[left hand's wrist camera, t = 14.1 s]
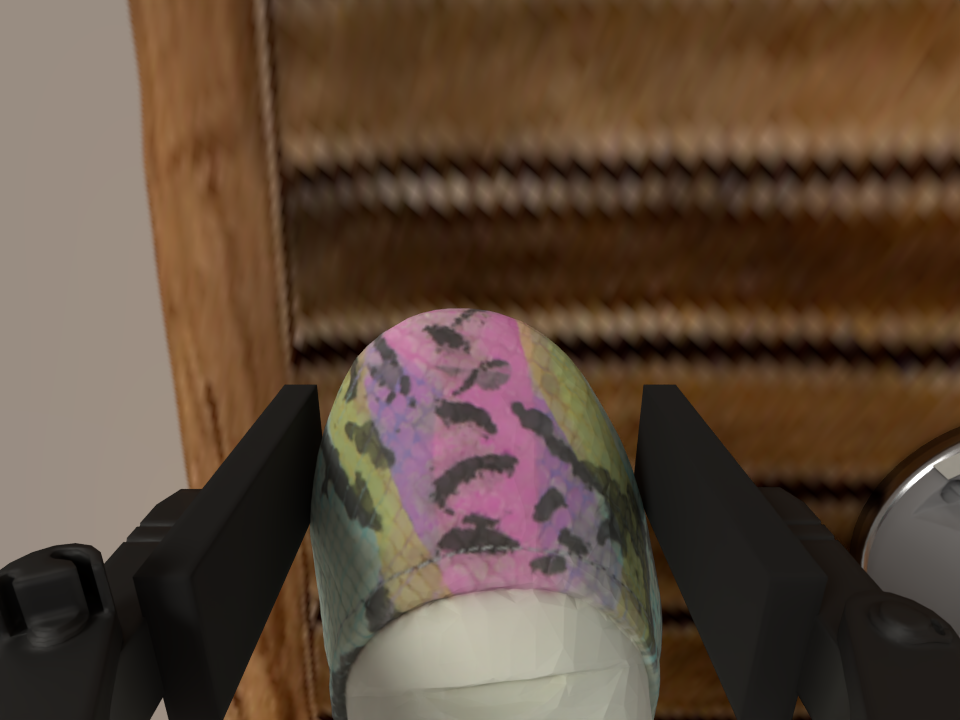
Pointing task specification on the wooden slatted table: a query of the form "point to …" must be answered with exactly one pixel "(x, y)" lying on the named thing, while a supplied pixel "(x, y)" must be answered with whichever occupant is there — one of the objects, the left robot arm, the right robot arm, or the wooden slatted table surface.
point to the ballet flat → (480, 534)
